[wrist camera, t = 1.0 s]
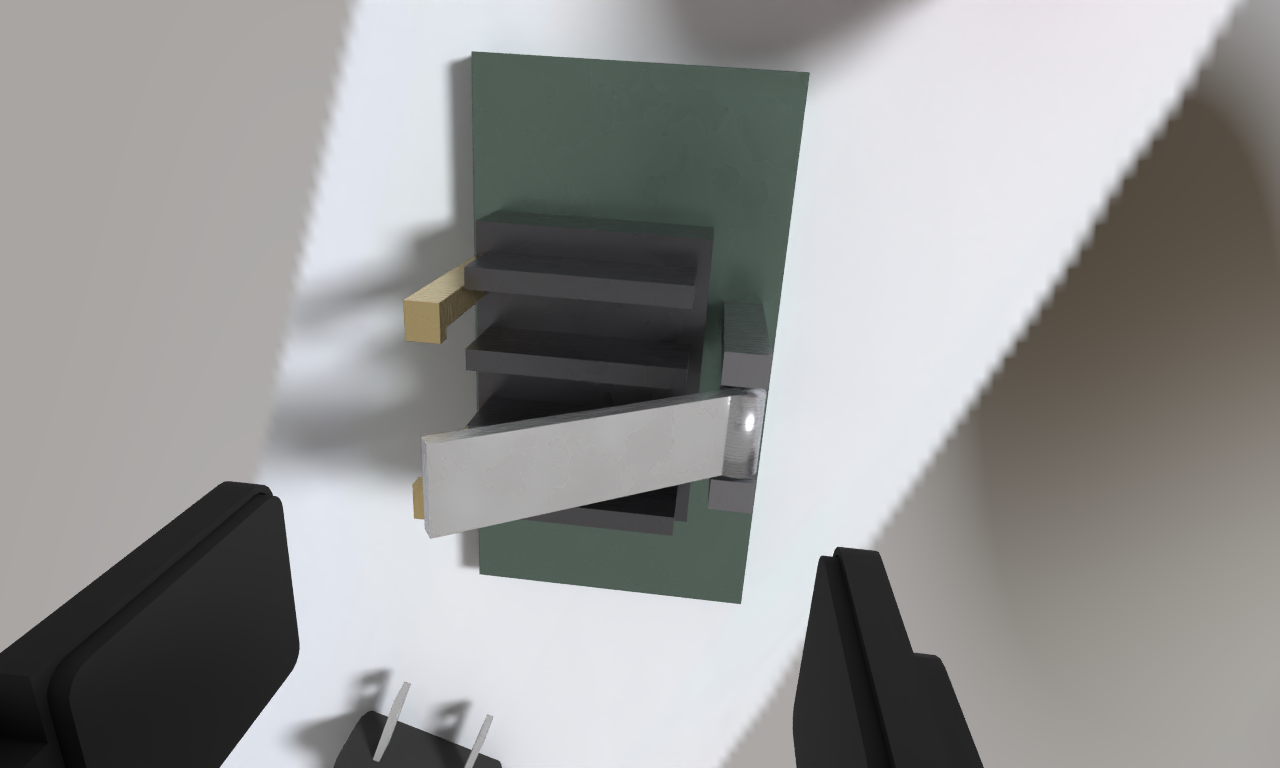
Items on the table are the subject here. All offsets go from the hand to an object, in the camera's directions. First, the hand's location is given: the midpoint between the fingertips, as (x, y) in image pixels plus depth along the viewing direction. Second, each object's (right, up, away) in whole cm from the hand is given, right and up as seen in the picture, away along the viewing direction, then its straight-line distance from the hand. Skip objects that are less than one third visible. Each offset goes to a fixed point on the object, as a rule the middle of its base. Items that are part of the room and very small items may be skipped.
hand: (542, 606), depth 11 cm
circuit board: (+1, +5, +24) cm, 24 cm away
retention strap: (0, +1, +14) cm, 14 cm away
